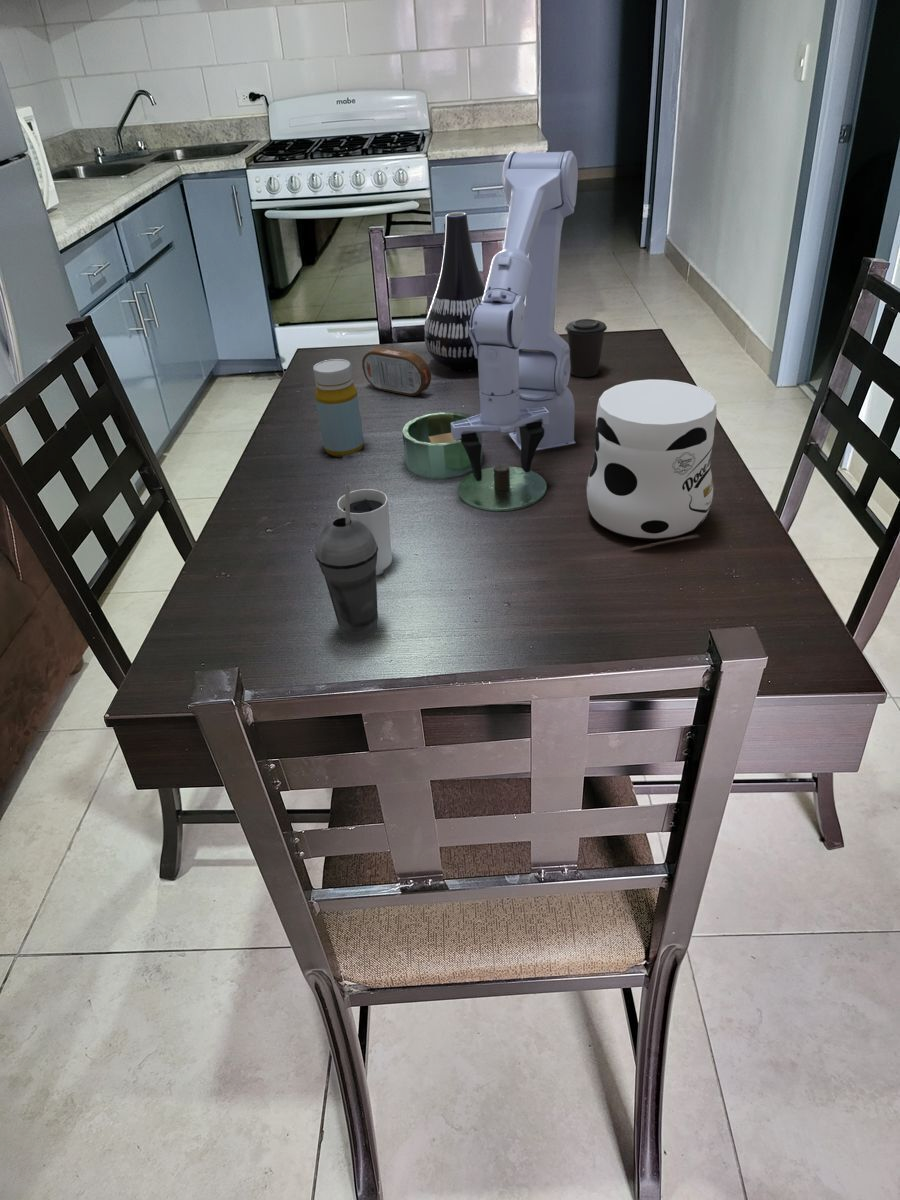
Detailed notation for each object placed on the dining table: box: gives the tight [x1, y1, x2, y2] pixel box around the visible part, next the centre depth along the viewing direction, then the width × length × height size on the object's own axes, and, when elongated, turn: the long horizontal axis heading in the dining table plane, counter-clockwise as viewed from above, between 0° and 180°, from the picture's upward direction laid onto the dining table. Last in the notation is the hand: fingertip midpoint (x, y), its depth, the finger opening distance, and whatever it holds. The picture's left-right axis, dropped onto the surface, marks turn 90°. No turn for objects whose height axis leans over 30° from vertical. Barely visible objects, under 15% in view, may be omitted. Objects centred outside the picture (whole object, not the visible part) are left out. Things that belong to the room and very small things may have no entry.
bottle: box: [312, 358, 365, 458], centre depth 141 cm, size 7×7×15 cm
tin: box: [361, 345, 432, 397], centre depth 163 cm, size 15×3×8 cm, turn 58°
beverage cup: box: [315, 484, 379, 642], centre depth 97 cm, size 7×7×20 cm
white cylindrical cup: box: [336, 488, 393, 576], centre depth 112 cm, size 7×7×10 cm
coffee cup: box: [564, 318, 608, 378], centre depth 164 cm, size 8×8×10 cm
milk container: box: [586, 379, 717, 542], centre depth 115 cm, size 17×17×18 cm
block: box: [428, 433, 456, 443], centre depth 137 cm, size 4×4×4 cm
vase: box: [423, 211, 486, 373], centre depth 166 cm, size 16×16×30 cm
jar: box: [401, 411, 484, 480], centre depth 137 cm, size 13×13×6 cm
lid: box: [457, 463, 547, 512], centre depth 128 cm, size 14×14×4 cm
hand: (501, 473), depth 127 cm, fingers open, 7 cm apart
